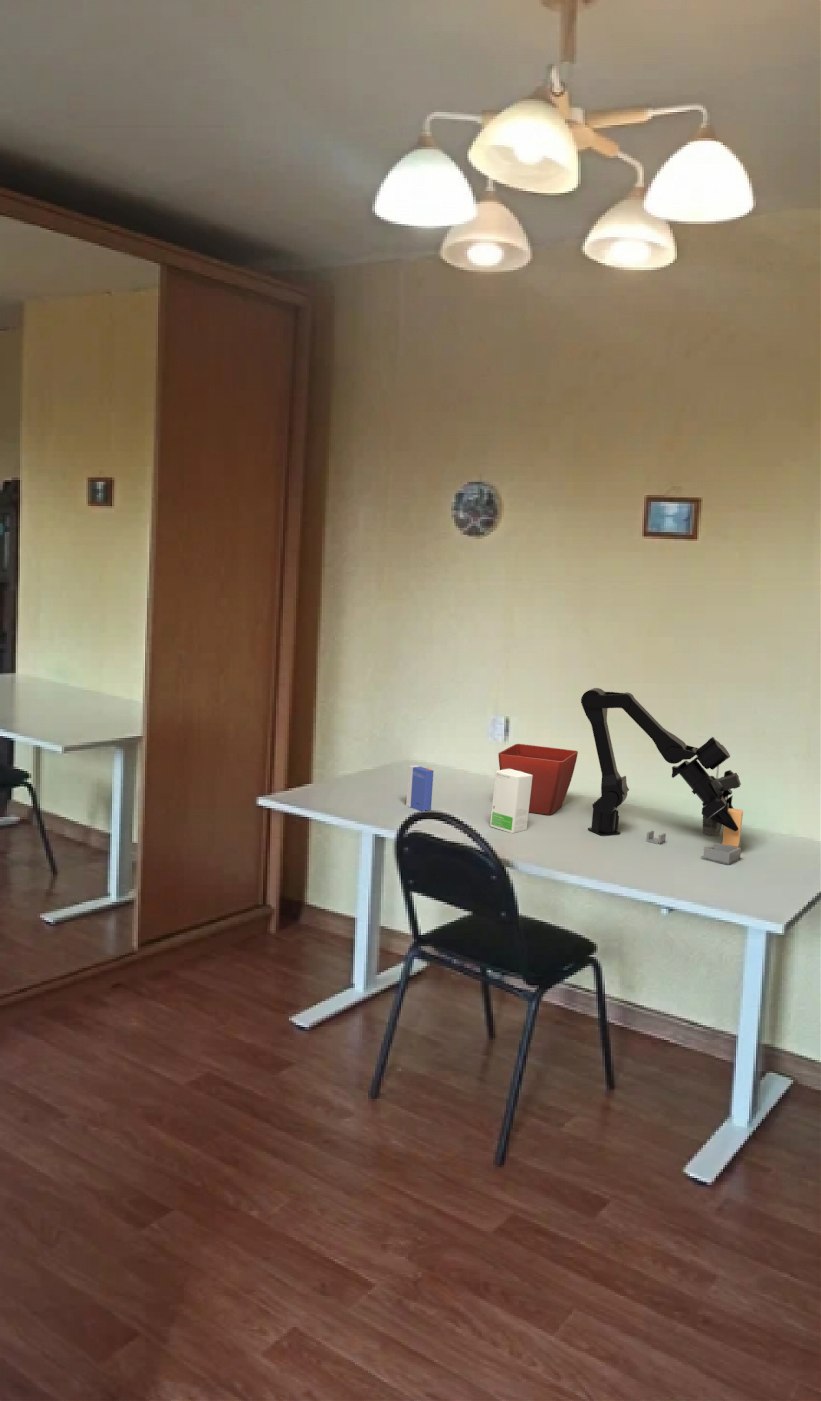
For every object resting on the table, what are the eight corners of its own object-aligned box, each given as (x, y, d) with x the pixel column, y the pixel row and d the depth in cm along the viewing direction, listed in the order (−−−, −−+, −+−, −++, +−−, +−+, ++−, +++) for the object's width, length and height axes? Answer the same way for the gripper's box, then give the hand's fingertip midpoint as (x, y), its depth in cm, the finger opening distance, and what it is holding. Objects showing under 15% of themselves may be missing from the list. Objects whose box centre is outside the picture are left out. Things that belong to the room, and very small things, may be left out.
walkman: (431, 810, 317) (433, 769, 315) (423, 811, 315) (426, 770, 313) (413, 804, 323) (415, 763, 321) (405, 805, 321) (408, 764, 319)
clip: (660, 844, 295) (660, 835, 295) (646, 841, 298) (647, 832, 297) (665, 842, 298) (665, 833, 297) (651, 839, 300) (652, 830, 300)
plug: (721, 852, 292) (725, 810, 290) (722, 848, 295) (727, 807, 294) (737, 854, 290) (741, 813, 289) (739, 850, 294) (743, 809, 292)
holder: (700, 858, 284) (701, 847, 284) (712, 853, 290) (713, 842, 289) (728, 865, 280) (729, 853, 279) (739, 859, 285) (741, 848, 285)
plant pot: (492, 810, 322) (497, 752, 320) (512, 797, 340) (516, 742, 337) (557, 820, 315) (562, 761, 313) (574, 806, 333) (579, 751, 330)
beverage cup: (725, 832, 313) (733, 762, 310) (724, 838, 306) (731, 766, 303) (698, 828, 315) (706, 758, 312) (696, 834, 308) (703, 763, 305)
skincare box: (489, 827, 303) (493, 770, 300) (504, 823, 308) (508, 767, 305) (513, 833, 297) (518, 776, 295) (529, 830, 302) (533, 773, 300)
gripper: (719, 767, 282) (760, 817, 280) (727, 756, 299) (766, 802, 297) (684, 794, 286) (725, 842, 284) (694, 781, 303) (732, 826, 301)
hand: (738, 827), depth 291 cm, fingers open, 6 cm apart
